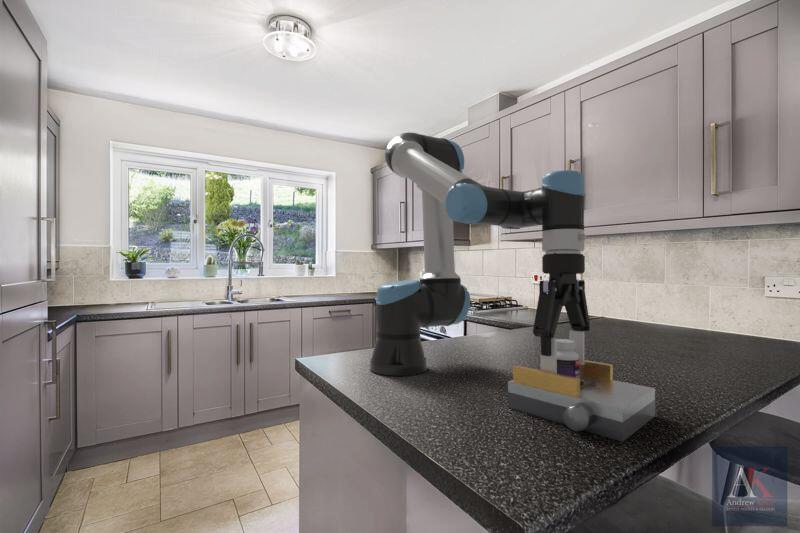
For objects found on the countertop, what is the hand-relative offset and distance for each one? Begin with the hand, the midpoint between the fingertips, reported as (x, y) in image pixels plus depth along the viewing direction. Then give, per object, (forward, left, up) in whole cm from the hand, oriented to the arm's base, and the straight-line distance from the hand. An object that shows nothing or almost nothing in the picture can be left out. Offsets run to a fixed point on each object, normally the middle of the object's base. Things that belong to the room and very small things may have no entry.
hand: (563, 368), depth 75 cm
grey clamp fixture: (+3, -2, -7) cm, 8 cm away
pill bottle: (0, 0, -5) cm, 5 cm away
